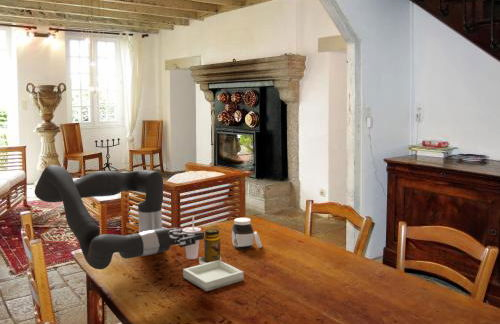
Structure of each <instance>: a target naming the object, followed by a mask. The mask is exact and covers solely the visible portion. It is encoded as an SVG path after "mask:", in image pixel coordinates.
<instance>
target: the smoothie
mask: <svg viewBox="0 0 500 324" xmlns="http://www.w3.org/2000/svg"><path fill="white" fill-rule="evenodd" d="M191 222H192V226H187V227H184V228H182V233H187V234H195V233H200V232H202V228H200V227H197V226H195V216H192V221H191ZM183 238H185V236H184V235H183ZM190 240H191V239H190ZM199 248H200V240H196V244H193V245H189V246H185V247H184V250H185V256H186V259H187V260H196V259H198V258H199V257H198V256H199V250H200V249H199Z"/></svg>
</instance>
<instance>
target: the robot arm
mask: <svg viewBox="0 0 500 324" xmlns="http://www.w3.org/2000/svg"><path fill="white" fill-rule="evenodd" d="M122 192H137V193H144V194H145V200H143V201H140V202H139V203H137V215H138V217H137V218H138V233H133V234H127V235H121V234H112V233H111V234H109V233H104V234H103V233H101V230H100V227H99V225H98V223H96V221H95V220H94V218H93V216H92V215H91V214H90V213H89V211H88V209H87V208H86V205H85V204H84V202H83V199H86V198H94V197H97V198H98V197H99V198H100V197H111V196H116V195H119V194H120V193H122ZM34 195H35V196H36V198H38V200H40V201H42V202H46V203H61V202H62V204H63V205H62V206H63V209H64V215H65V219H66V223H67V226H68V227H69V229H70V231H71V232H72V233H73V235H74V237H75V238H76V239H77V242H78V244H79V247H80V250H81V252H82V255H83V258H84V259H85V261H86V263H87V264H88V265H89V266H90V267H91V268H93V269H95V270H104V269H106V268H108V267H109V266H110V264H111V262H112V259H113V256H114V254H115V253H118V254H119V256H120V257H121V258H122V259H127V260H128V259H132V258H138V257H143V256H150V255H157V254H159V253H160V254H161V253H165V252H168V251H169V250H170V248H171V246H172V245H173V246H178V245H179V248H185V246H189V245H193V244H196V240H199V241H200V240H201V241H202V240H204V238H205V232H204V231H201V232H200V233H195V234H187V233H182V229H183V228H181V227H180V228H179V227H171V228H170V227H169V228H165V227H163V216H162V215H163V214H162V213H163V212H162V210H163V209H162V205H163V203H164V178H163V175H162V174H161V173H160V172H159V171H157V170H152V169H151V170H150V169H139V170H133V171H124V172H123V171H117V170H96V171H93V172H90V173H88V174H86V175H84V176H81V177H80V178H78V179H76V180H74V179H73V177H72V174H71V173H70V172H69V170H67V169H66V168H65V167H63V166H60V165H56V164H50V165H48V166H46V167H45V168H44V169H43V171H42V172H41V174H40V177H39V178H38V180H37V183H36V185H35V188H34ZM183 235H184V236H185V238H184V236H183ZM190 239H191V240H190Z"/></svg>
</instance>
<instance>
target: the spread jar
mask: <svg viewBox="0 0 500 324" xmlns="http://www.w3.org/2000/svg"><path fill="white" fill-rule="evenodd" d="M233 220H234V221H233V223H234V224H232V228H231V242H232V245H233V247H234V248H235V249H236V250H249V249H250V248H252V247H253V246H254V242H255V244H256V246H257V248H258V249H261V248H262V246H263V245H262V241H261V239H260V235H259V233H258V231H254V228H253V226H252V224H251V221H252V220H251V218H249V217H237V218H235V219H233Z"/></svg>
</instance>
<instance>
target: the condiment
mask: <svg viewBox="0 0 500 324" xmlns="http://www.w3.org/2000/svg"><path fill="white" fill-rule="evenodd" d="M203 240H204V241H203V242H204V246H203V247H204V249H203V250H204V256H199V257H198V263H199V264H198V265H201V264H205V263H209V262H213V261H216V260H221V261H222V257H221V237H220V230H219V229H217V228H207V229H206V230H205V231H204V239H203Z"/></svg>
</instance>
